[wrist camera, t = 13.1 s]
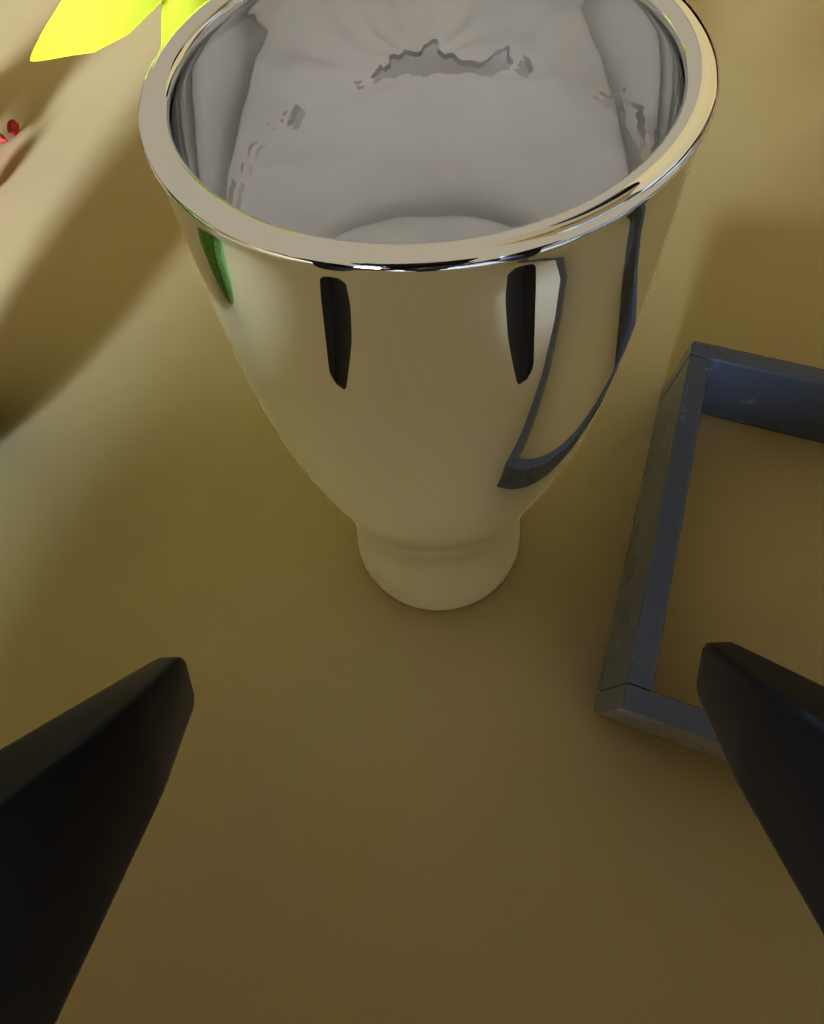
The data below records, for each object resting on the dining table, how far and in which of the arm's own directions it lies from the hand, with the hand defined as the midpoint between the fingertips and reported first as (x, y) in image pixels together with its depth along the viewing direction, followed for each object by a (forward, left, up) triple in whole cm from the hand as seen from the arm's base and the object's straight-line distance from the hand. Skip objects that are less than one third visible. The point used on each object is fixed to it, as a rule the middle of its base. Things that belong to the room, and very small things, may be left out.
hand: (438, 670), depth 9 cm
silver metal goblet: (+6, -1, -9) cm, 11 cm away
